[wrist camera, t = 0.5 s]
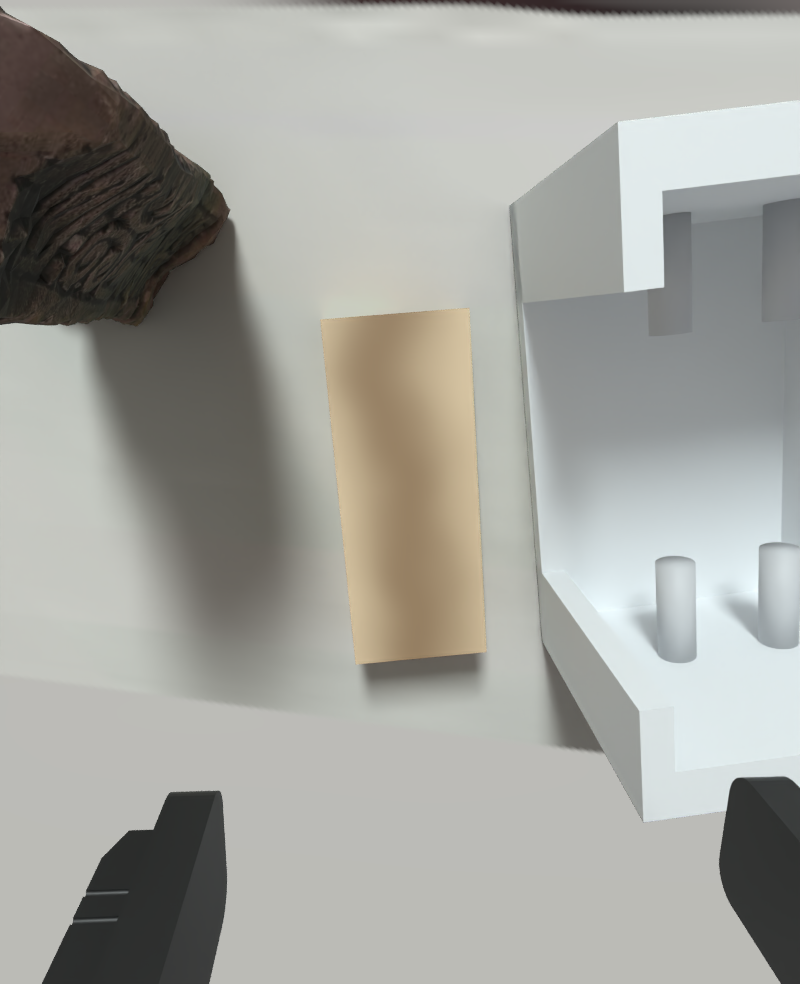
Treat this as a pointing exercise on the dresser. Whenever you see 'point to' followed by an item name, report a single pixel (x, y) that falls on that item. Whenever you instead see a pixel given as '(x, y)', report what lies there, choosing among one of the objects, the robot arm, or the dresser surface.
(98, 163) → the statue
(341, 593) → the dresser surface
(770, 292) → the cabinet bay
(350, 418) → the shelf board
